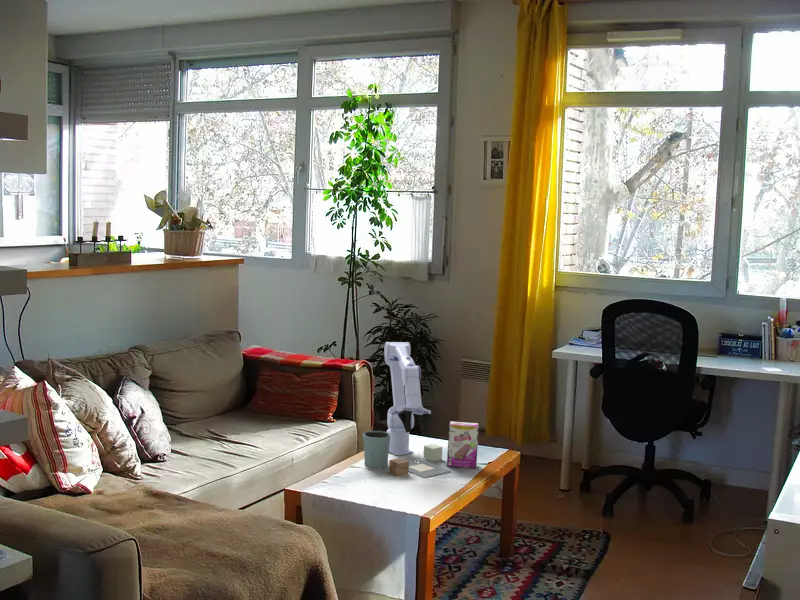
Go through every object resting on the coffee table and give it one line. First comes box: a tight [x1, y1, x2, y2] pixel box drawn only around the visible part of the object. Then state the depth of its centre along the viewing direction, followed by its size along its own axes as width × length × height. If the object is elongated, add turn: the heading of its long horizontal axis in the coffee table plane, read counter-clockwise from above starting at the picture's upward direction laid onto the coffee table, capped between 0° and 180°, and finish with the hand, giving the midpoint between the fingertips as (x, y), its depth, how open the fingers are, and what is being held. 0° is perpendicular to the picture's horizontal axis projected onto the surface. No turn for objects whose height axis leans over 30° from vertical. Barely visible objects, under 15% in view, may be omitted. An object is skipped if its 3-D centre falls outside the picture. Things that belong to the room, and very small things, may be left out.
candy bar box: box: [446, 420, 480, 469], centre depth 320 cm, size 11×5×16 cm, turn 84°
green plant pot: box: [362, 430, 390, 470], centre depth 317 cm, size 10×10×12 cm
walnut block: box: [388, 457, 410, 477], centre depth 308 cm, size 5×5×5 cm
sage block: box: [423, 443, 443, 462], centre depth 328 cm, size 5×5×5 cm
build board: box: [408, 458, 452, 479], centre depth 315 cm, size 18×13×1 cm
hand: (416, 433), depth 309 cm, fingers open, 7 cm apart
